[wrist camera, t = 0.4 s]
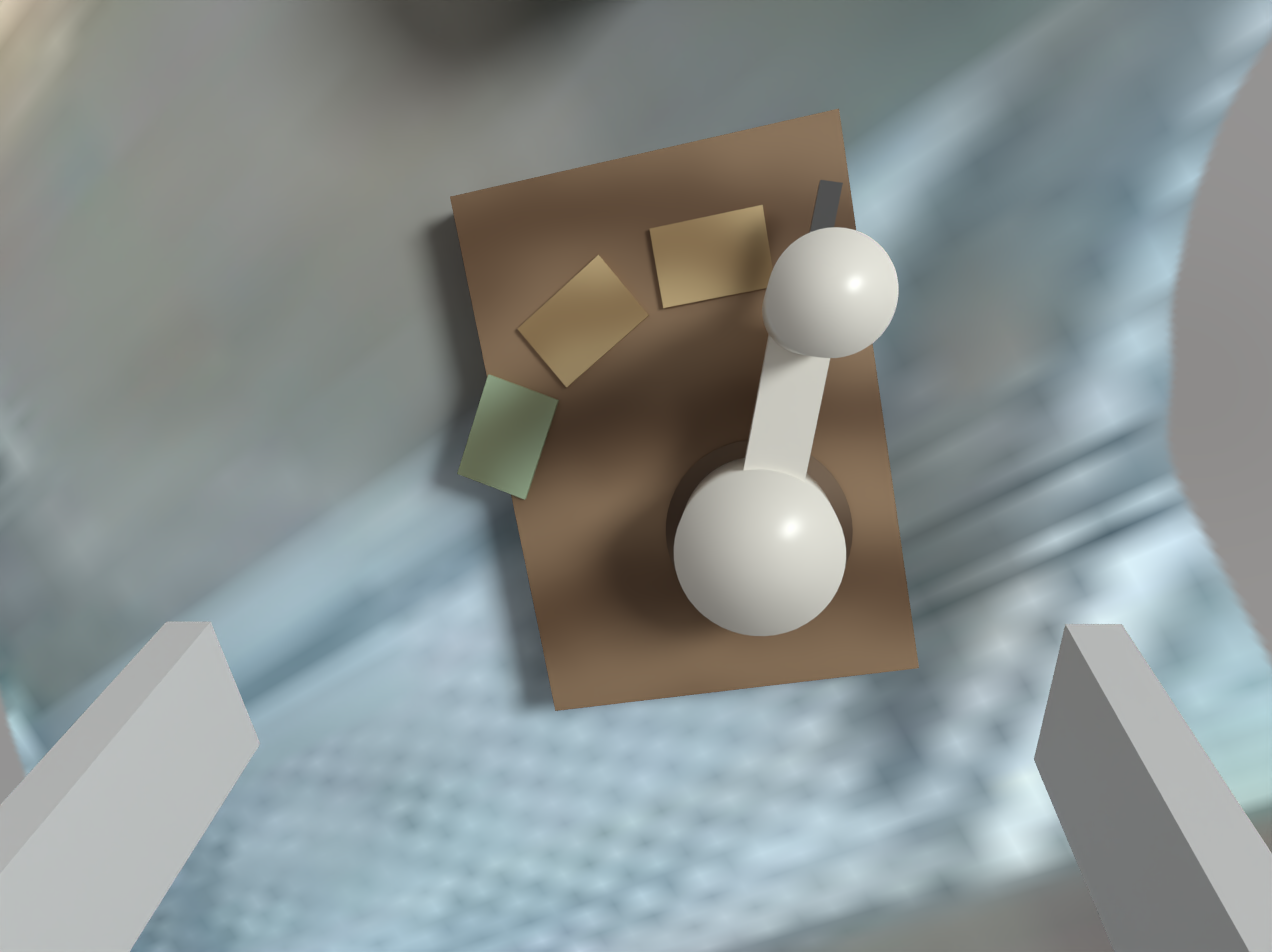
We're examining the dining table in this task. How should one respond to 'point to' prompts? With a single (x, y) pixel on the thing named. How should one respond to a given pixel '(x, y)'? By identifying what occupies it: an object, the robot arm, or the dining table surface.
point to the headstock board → (665, 408)
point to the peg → (786, 440)
